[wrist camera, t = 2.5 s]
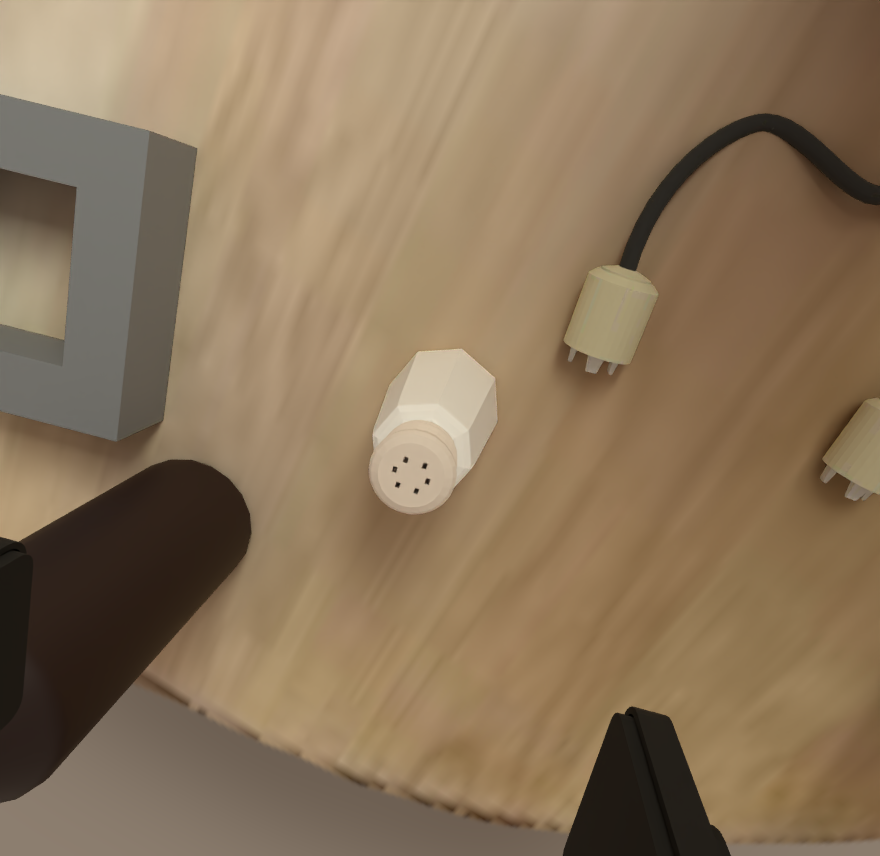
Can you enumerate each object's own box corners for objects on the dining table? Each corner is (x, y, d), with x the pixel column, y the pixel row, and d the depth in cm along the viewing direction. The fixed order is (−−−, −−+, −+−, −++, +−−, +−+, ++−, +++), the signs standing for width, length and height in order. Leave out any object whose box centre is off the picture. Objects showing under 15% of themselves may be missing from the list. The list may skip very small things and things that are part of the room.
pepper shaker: (374, 435, 31) (307, 523, 21) (407, 329, 30) (352, 366, 19) (479, 471, 31) (465, 578, 21) (517, 367, 30) (523, 424, 19)
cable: (712, 5, 26) (742, -32, 23) (1073, 172, 26) (1156, 159, 23) (542, 354, 30) (547, 366, 27) (857, 496, 30) (900, 525, 27)
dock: (197, 148, 29) (149, 130, 25) (162, 420, 32) (116, 441, 29) (-75, 81, 29) (-163, 54, 26) (-81, 356, 33) (-159, 369, 29)
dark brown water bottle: (104, 489, 34) (-433, 793, 14) (210, 434, 32) (-227, 689, 13) (173, 596, 35) (-238, 1009, 16) (278, 548, 34) (-31, 935, 14)
